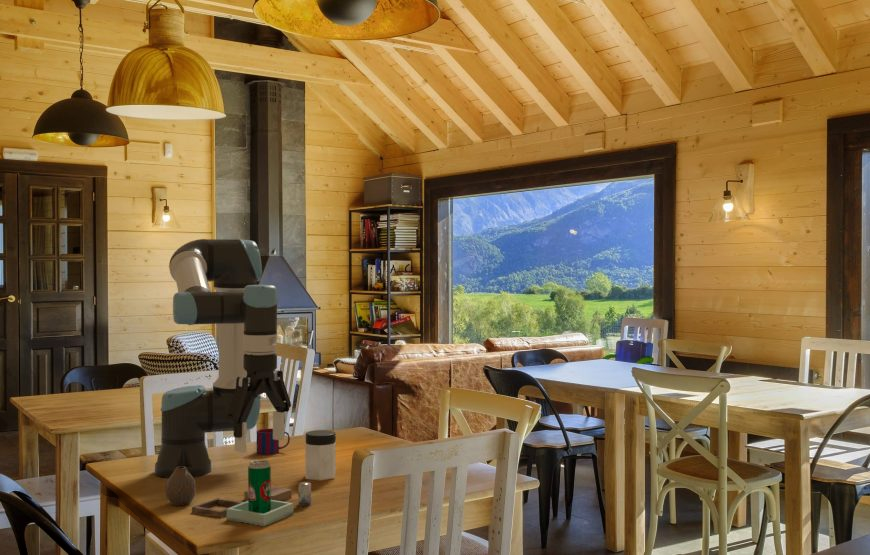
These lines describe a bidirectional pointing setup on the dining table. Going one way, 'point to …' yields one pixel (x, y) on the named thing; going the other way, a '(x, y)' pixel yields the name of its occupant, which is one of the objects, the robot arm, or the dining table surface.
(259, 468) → the soda can
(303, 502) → the salt shaker
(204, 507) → the brown square frame
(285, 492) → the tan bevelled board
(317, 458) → the jar
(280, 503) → the tray
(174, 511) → the dining table surface
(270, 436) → the mug
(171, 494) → the vase
